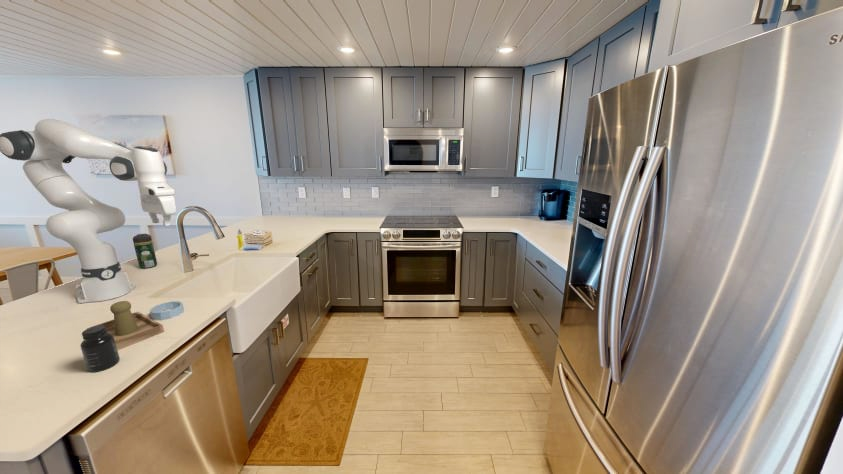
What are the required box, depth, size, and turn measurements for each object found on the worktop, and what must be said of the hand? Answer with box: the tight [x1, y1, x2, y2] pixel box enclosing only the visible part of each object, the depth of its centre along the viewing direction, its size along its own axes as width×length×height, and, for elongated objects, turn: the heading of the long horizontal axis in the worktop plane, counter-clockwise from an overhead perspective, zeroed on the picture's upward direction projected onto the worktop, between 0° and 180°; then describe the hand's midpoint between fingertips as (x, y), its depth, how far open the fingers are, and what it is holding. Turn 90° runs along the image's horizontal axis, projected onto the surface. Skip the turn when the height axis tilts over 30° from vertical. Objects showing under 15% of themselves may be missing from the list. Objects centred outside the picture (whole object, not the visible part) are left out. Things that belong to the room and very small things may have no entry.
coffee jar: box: [132, 233, 158, 270], centre depth 172 cm, size 10×8×19 cm
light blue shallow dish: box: [149, 300, 185, 321], centre depth 122 cm, size 10×10×3 cm
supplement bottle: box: [79, 325, 121, 373], centre depth 90 cm, size 7×7×12 cm
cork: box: [109, 300, 138, 336], centre depth 107 cm, size 6×6×11 cm
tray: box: [86, 311, 165, 351], centre depth 108 cm, size 20×14×3 cm
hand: (161, 224), depth 124 cm, fingers open, 8 cm apart
